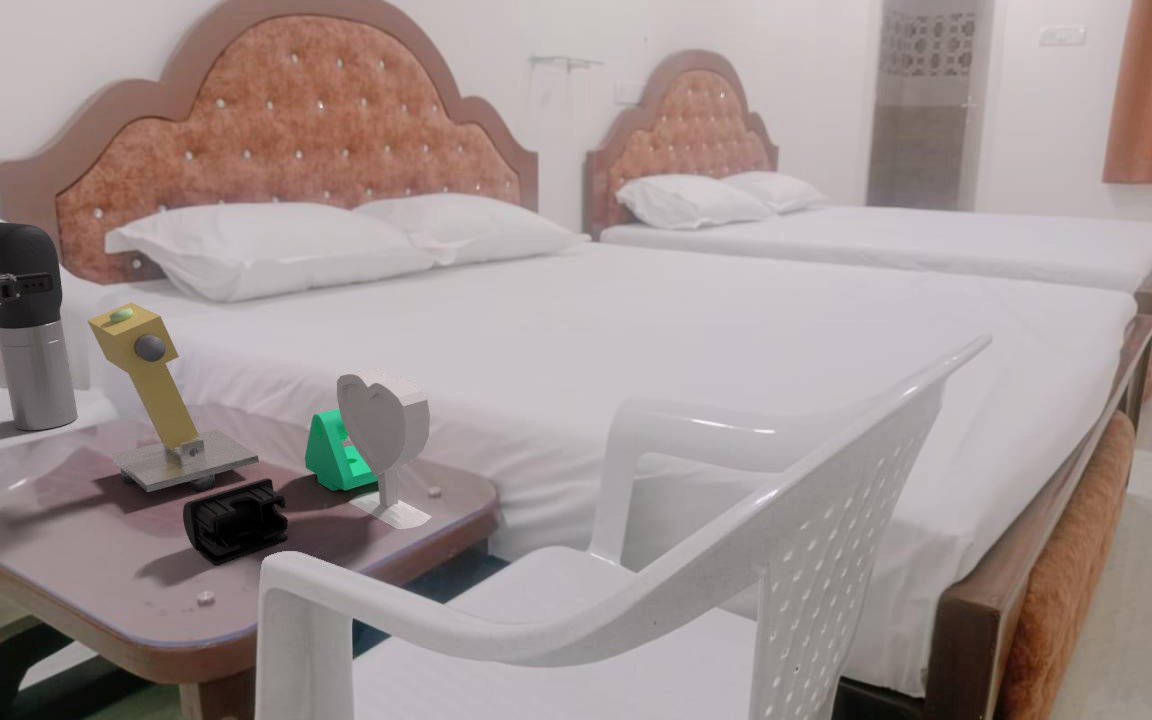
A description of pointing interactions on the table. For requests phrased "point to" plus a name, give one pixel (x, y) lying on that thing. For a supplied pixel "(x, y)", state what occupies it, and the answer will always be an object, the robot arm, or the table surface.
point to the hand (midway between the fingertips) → (51, 281)
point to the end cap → (236, 522)
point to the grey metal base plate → (183, 462)
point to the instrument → (146, 366)
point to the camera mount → (334, 454)
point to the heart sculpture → (385, 437)
